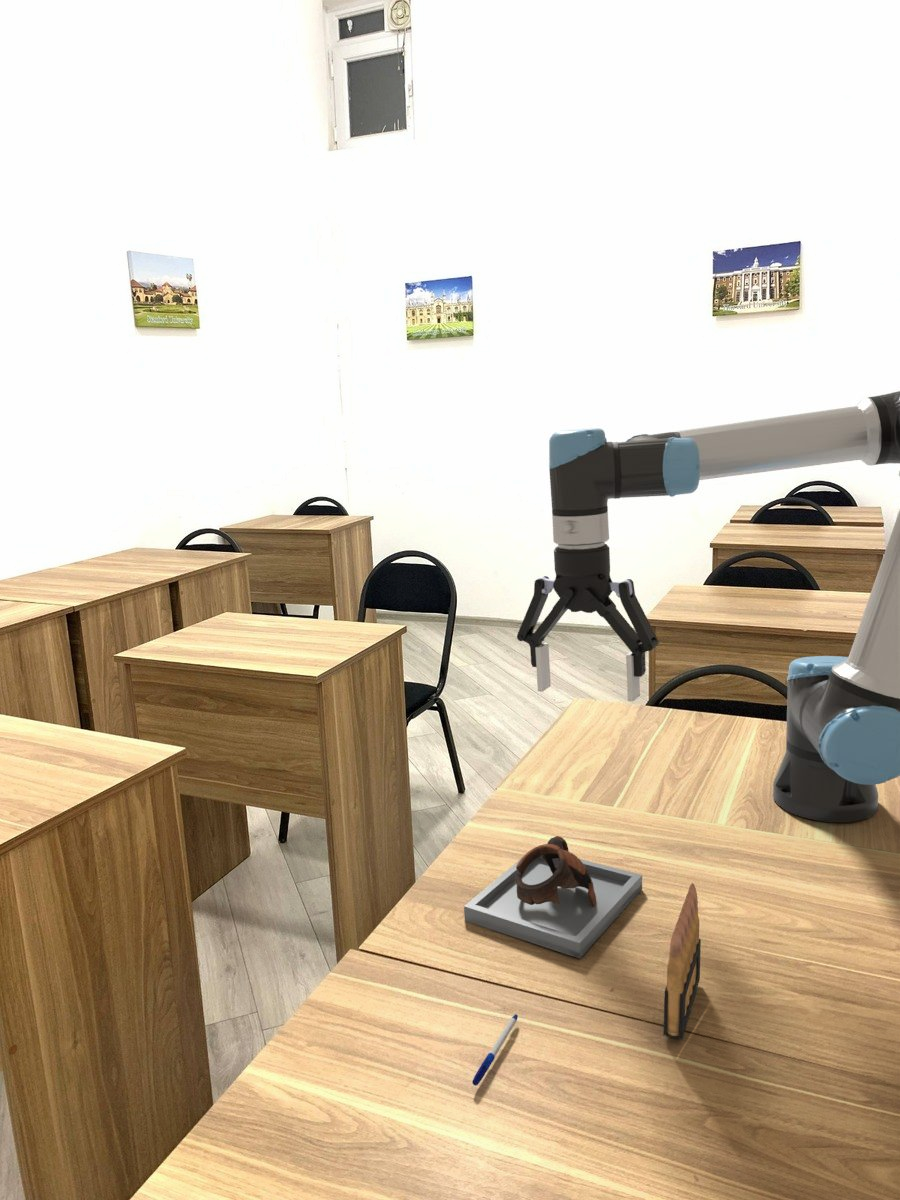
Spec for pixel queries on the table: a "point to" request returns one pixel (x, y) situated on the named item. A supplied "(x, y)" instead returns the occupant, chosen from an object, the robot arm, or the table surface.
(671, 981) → the ammunition clip
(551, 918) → the tray
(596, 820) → the table surface
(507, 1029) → the ballpoint pen
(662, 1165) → the table surface
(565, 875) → the broken brown clay pot
